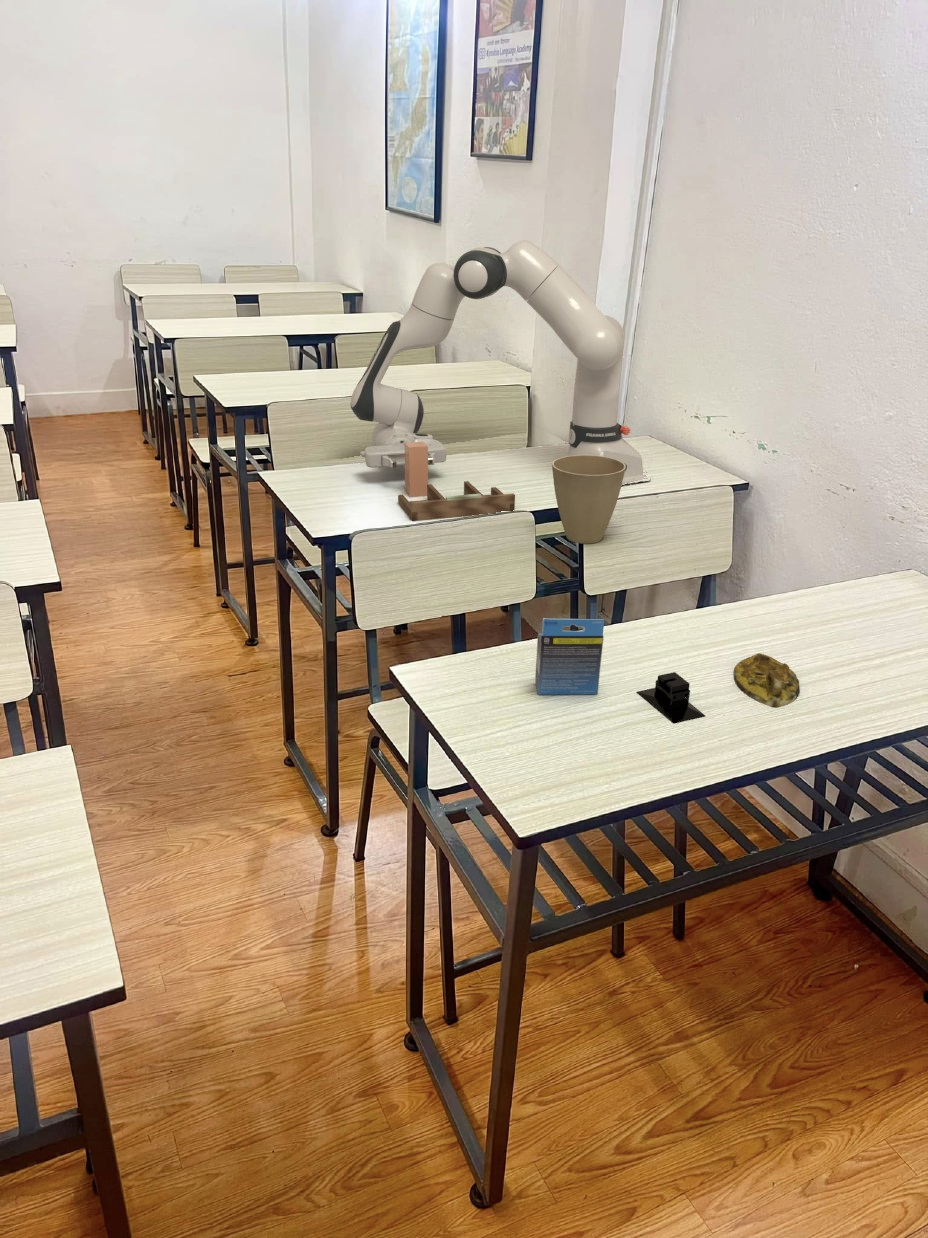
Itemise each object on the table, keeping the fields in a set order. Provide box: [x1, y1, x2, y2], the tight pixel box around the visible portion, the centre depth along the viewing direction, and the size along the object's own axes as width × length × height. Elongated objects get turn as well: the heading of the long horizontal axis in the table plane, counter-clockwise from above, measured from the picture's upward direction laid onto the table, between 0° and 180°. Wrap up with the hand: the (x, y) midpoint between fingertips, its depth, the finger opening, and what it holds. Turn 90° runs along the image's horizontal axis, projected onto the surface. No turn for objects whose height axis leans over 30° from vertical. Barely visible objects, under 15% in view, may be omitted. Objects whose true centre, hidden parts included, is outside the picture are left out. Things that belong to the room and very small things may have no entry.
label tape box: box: [534, 617, 605, 696], centre depth 128 cm, size 9×4×12 cm, turn 92°
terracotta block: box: [404, 442, 429, 498], centre depth 212 cm, size 4×4×12 cm
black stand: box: [635, 671, 706, 724], centre depth 127 cm, size 12×7×5 cm, turn 23°
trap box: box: [397, 480, 516, 522], centre depth 205 cm, size 24×13×5 cm, turn 108°
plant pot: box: [551, 455, 626, 545], centre depth 185 cm, size 15×15×16 cm
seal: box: [733, 653, 801, 709], centre depth 133 cm, size 9×5×15 cm
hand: (412, 463), depth 215 cm, fingers open, 8 cm apart
